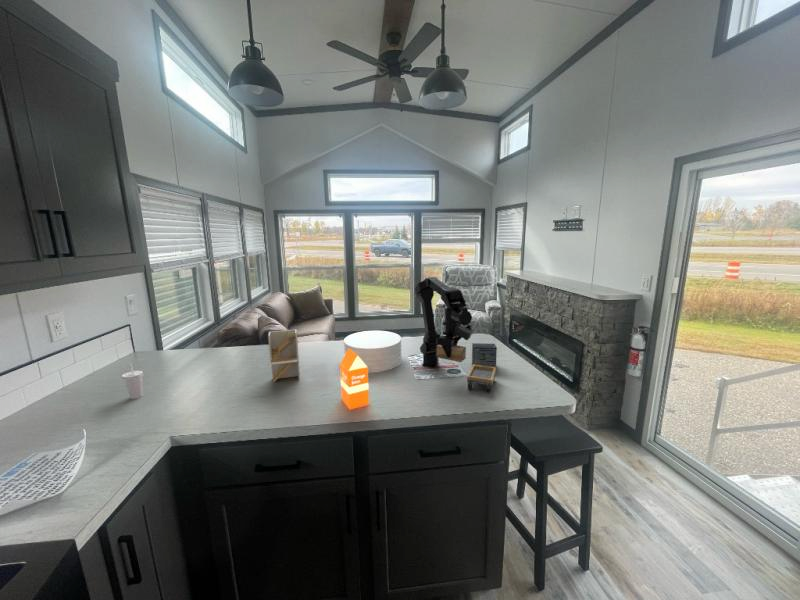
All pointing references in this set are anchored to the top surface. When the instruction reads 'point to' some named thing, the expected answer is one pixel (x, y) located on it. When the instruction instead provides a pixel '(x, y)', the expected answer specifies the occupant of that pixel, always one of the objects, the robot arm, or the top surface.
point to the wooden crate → (284, 354)
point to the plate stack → (375, 349)
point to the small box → (484, 354)
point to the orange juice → (354, 380)
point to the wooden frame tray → (481, 376)
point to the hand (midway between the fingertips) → (451, 355)
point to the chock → (452, 353)
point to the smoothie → (133, 383)
